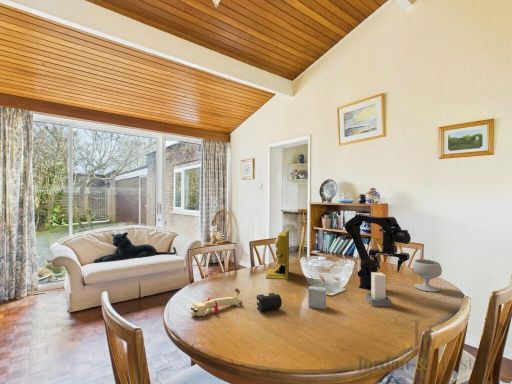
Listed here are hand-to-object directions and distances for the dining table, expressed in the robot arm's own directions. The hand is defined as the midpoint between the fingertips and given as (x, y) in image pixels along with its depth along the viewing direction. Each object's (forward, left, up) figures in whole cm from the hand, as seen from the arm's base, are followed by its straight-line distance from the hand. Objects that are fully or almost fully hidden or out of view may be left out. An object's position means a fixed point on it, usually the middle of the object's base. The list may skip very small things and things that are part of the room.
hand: (388, 270), depth 146 cm
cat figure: (-54, -71, -13) cm, 90 cm away
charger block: (-1, -13, -12) cm, 18 cm away
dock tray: (-1, -13, -13) cm, 18 cm away
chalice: (+13, +26, -13) cm, 32 cm away
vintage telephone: (-65, -9, -13) cm, 67 cm away
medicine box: (-21, -37, -13) cm, 45 cm away
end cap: (-36, -55, -13) cm, 67 cm away
